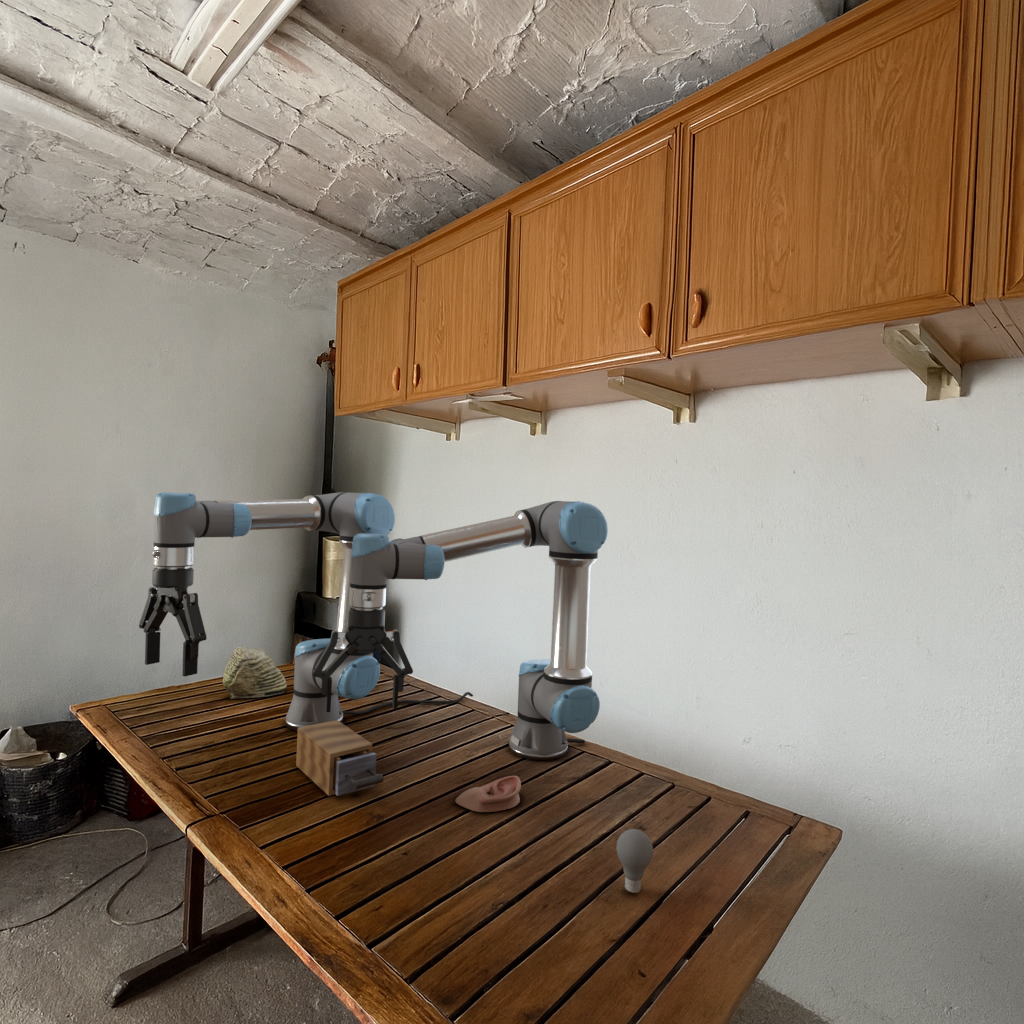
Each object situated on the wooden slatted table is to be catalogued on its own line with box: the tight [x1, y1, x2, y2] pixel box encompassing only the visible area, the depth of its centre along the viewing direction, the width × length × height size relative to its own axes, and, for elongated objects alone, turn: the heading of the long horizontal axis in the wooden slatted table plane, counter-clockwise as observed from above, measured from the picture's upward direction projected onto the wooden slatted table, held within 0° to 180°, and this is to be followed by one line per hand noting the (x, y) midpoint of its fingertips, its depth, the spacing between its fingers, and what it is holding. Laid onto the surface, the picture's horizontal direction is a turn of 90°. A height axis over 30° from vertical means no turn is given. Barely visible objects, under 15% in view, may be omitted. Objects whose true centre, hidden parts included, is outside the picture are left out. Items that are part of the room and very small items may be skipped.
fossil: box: [222, 646, 288, 699], centre depth 198 cm, size 9×18×15 cm, turn 132°
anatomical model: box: [454, 775, 522, 813], centre depth 135 cm, size 13×4×12 cm
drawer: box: [333, 750, 384, 797], centre depth 139 cm, size 23×9×7 cm, turn 40°
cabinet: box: [295, 720, 373, 797], centre depth 144 cm, size 18×10×9 cm, turn 40°
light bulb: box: [615, 828, 654, 894], centre depth 106 cm, size 6×6×10 cm
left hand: (170, 669), depth 131 cm, fingers open, 13 cm apart
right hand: (362, 708), depth 133 cm, fingers open, 13 cm apart
